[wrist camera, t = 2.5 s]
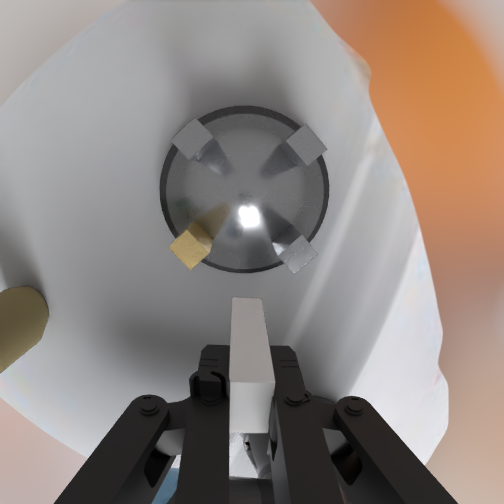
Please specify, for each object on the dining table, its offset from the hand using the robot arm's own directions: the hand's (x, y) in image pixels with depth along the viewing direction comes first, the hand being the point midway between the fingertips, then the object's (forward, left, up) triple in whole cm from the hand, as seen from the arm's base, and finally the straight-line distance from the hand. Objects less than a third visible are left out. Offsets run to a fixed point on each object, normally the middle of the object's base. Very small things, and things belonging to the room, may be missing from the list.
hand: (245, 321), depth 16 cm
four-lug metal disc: (+4, -4, -14) cm, 15 cm away
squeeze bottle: (+13, +27, -16) cm, 34 cm away
